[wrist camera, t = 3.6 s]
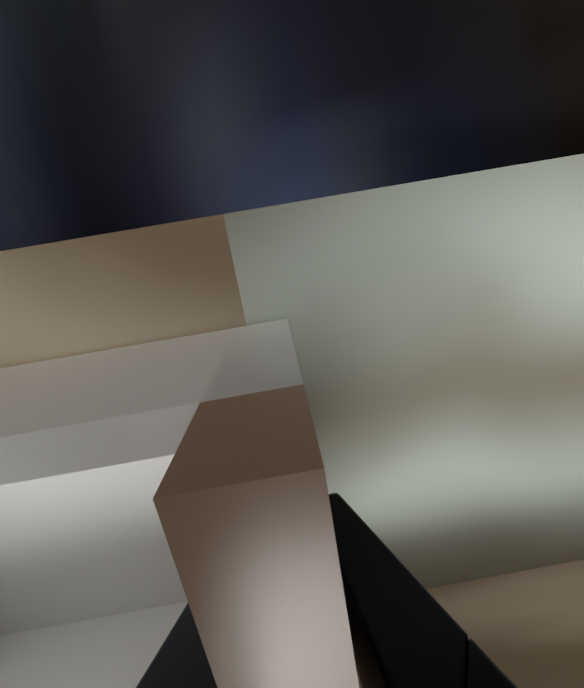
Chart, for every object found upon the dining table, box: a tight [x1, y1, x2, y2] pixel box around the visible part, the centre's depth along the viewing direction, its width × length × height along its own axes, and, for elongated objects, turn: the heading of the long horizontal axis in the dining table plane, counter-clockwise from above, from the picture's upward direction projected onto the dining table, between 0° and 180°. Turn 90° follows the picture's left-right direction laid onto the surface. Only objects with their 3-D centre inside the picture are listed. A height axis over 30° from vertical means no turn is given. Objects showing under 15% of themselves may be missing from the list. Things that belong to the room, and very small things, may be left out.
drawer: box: [0, 319, 359, 688], centre depth 6 cm, size 8×10×6 cm
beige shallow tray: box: [0, 154, 584, 688], centre depth 8 cm, size 13×27×4 cm, turn 99°
